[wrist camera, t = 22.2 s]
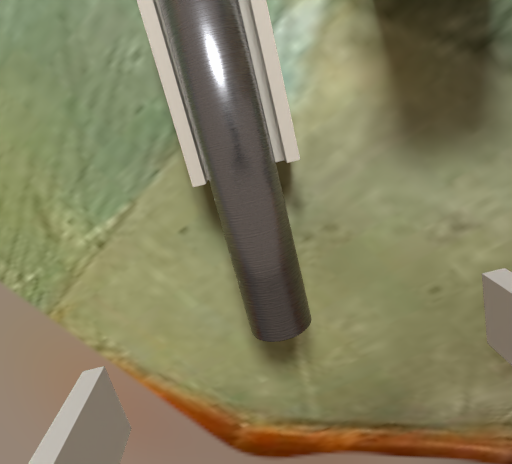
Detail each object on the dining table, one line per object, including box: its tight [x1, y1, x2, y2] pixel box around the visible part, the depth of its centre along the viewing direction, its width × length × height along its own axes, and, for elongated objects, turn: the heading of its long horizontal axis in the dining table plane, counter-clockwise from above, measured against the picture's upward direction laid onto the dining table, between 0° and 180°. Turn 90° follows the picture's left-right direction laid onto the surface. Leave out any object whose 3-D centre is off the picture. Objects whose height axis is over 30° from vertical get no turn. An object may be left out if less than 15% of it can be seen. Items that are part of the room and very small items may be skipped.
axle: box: [158, 0, 311, 342], centre depth 22 cm, size 24×4×4 cm, turn 14°
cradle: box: [137, 0, 300, 187], centre depth 24 cm, size 11×7×4 cm, turn 14°
